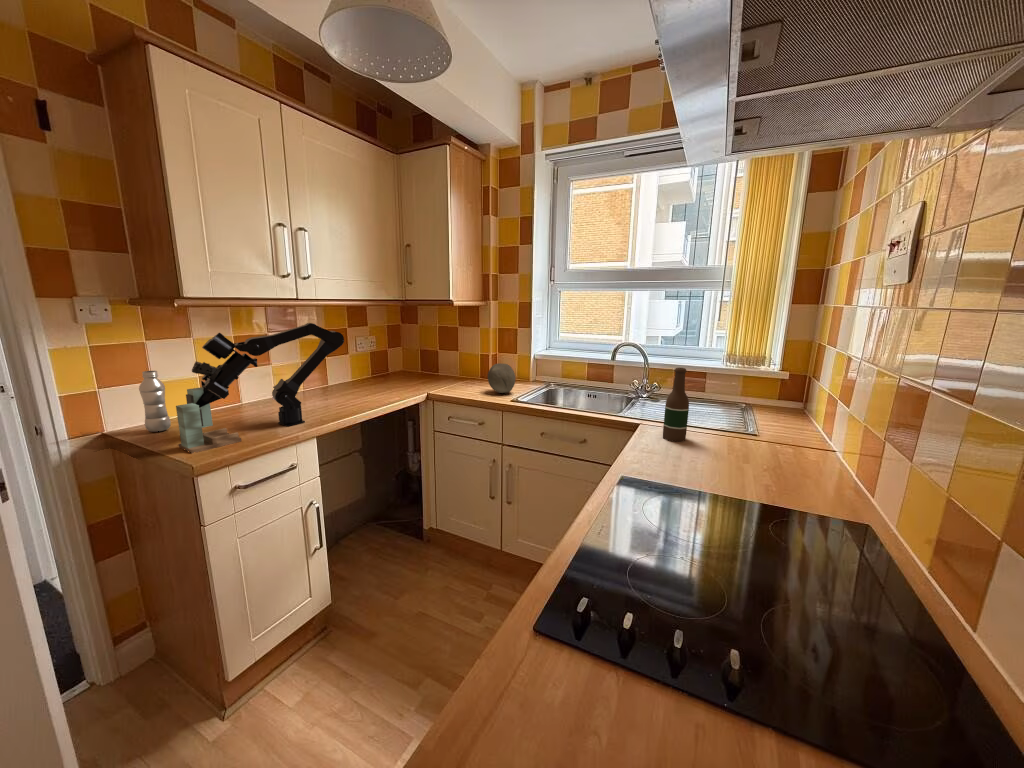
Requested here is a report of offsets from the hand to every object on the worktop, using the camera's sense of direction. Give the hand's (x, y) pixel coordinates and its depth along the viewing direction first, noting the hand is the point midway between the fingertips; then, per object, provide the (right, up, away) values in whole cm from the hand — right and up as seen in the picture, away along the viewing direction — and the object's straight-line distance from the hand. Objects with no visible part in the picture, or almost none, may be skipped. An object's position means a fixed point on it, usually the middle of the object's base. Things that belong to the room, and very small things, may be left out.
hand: (194, 406), depth 128 cm
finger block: (+1, -6, +2) cm, 7 cm away
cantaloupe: (+95, +2, +74) cm, 120 cm away
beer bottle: (+155, -12, +9) cm, 155 cm away
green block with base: (+8, -11, -4) cm, 15 cm away
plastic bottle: (-17, -9, +7) cm, 21 cm away
